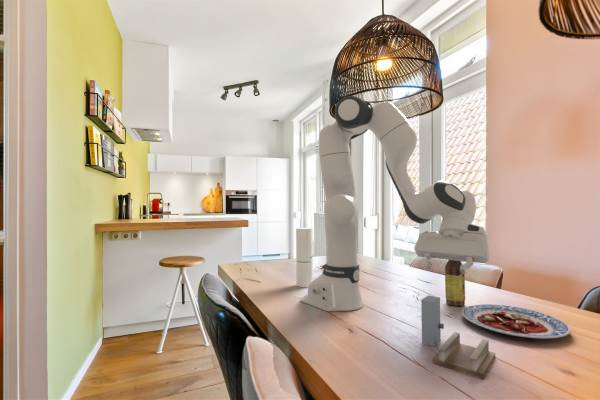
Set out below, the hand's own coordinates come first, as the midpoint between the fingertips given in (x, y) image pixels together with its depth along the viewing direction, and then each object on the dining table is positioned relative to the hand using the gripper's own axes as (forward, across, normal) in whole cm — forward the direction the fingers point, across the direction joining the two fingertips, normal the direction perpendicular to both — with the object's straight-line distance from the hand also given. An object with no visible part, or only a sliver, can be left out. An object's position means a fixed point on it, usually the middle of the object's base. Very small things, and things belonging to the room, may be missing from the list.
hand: (445, 269), depth 90 cm
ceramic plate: (+2, +14, +22) cm, 26 cm away
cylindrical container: (+5, -61, +18) cm, 64 cm away
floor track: (+24, +9, 0) cm, 25 cm away
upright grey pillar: (+20, 0, +3) cm, 20 cm away
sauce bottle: (-5, -4, +29) cm, 30 cm away
